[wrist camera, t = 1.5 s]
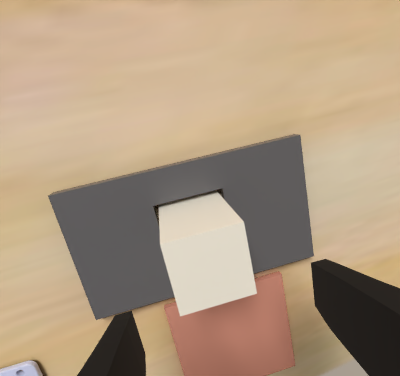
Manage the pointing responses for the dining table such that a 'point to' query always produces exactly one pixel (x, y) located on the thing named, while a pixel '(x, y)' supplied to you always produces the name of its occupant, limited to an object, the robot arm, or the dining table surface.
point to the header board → (174, 190)
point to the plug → (205, 252)
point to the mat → (236, 334)
